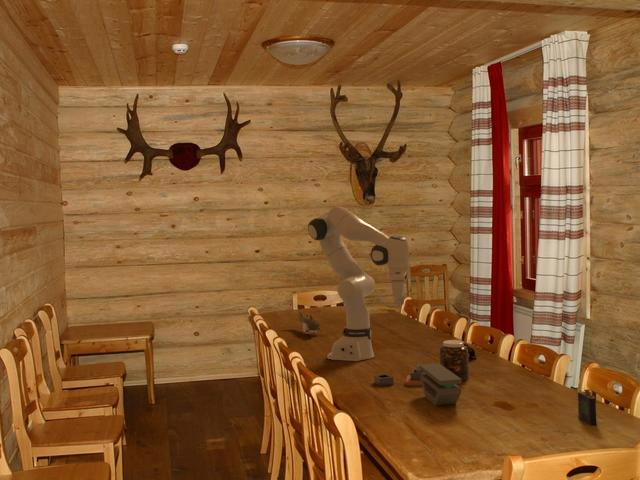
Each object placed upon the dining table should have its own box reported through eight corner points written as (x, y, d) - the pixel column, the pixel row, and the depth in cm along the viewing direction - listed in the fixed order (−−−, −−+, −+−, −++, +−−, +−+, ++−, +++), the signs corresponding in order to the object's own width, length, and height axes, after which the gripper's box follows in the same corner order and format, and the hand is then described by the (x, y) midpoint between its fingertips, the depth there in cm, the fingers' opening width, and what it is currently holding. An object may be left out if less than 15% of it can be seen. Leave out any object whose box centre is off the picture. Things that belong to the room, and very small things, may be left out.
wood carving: (306, 327, 424) (306, 308, 424) (325, 337, 391) (324, 317, 390) (292, 328, 422) (291, 310, 421) (310, 339, 388) (309, 318, 388)
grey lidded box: (420, 392, 276) (419, 364, 275) (439, 390, 277) (438, 363, 276) (441, 411, 251) (440, 380, 251) (462, 409, 252) (461, 379, 252)
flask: (576, 417, 238) (576, 385, 238) (584, 416, 239) (584, 385, 238) (591, 426, 229) (590, 393, 228) (599, 425, 230) (599, 392, 229)
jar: (470, 374, 299) (469, 339, 298) (466, 382, 288) (465, 345, 287) (442, 373, 303) (441, 338, 302) (437, 380, 292) (436, 344, 291)
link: (410, 380, 288) (410, 373, 288) (411, 376, 294) (411, 369, 294) (425, 380, 287) (425, 373, 287) (426, 376, 293) (426, 369, 293)
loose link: (379, 386, 287) (379, 378, 287) (374, 382, 293) (374, 375, 293) (393, 384, 289) (393, 377, 289) (387, 380, 295) (387, 373, 294)
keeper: (405, 385, 287) (404, 368, 287) (407, 378, 297) (407, 362, 296) (430, 385, 285) (429, 368, 284) (432, 379, 294) (431, 362, 294)
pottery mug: (480, 361, 323) (472, 347, 321) (461, 370, 325) (453, 356, 323) (474, 349, 335) (466, 335, 333) (456, 358, 336) (448, 344, 334)
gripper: (394, 271, 314) (396, 302, 315) (389, 277, 294) (390, 310, 295) (409, 271, 313) (410, 302, 314) (404, 276, 293) (405, 310, 294)
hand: (400, 306), depth 304 cm, fingers open, 8 cm apart
